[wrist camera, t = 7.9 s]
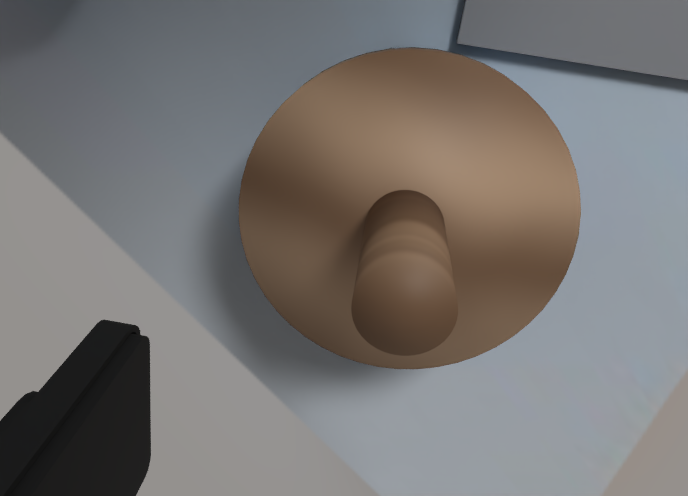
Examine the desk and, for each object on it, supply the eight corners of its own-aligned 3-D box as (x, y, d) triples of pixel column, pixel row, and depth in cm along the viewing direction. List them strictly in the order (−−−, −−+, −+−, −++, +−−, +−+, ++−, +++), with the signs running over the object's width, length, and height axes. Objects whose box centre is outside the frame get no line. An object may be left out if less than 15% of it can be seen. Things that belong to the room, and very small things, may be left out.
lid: (258, 21, 20) (188, 37, 13) (619, 77, 19) (723, 120, 13) (235, 327, 25) (176, 446, 18) (524, 377, 24) (565, 515, 18)
